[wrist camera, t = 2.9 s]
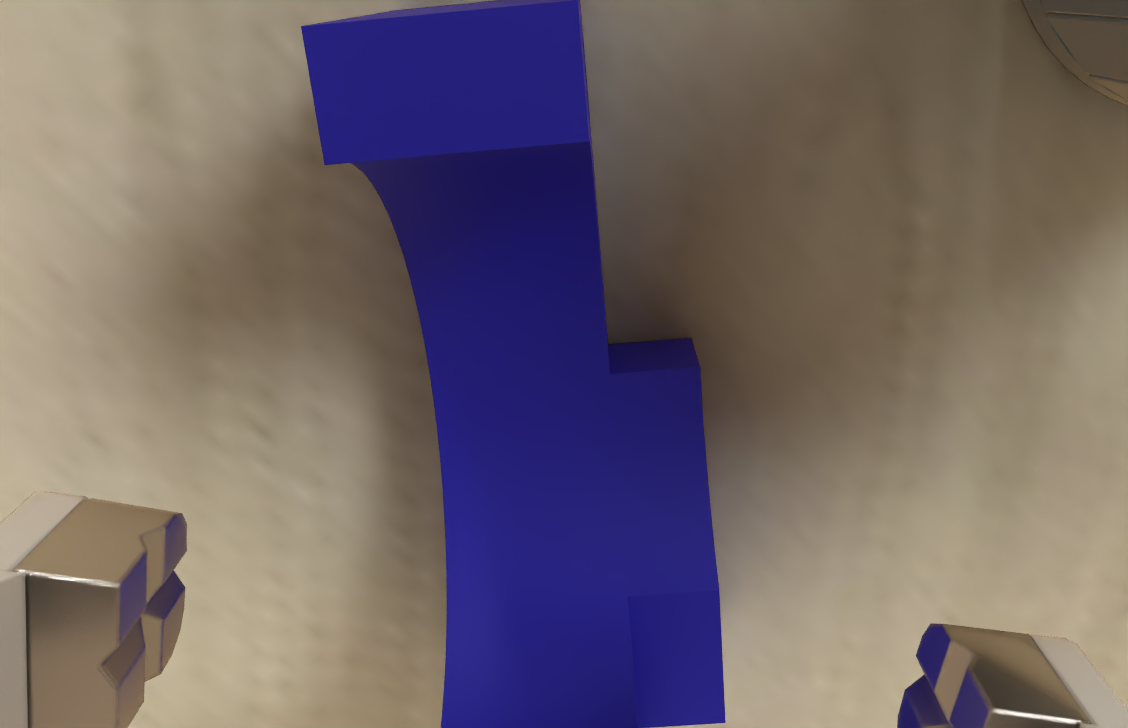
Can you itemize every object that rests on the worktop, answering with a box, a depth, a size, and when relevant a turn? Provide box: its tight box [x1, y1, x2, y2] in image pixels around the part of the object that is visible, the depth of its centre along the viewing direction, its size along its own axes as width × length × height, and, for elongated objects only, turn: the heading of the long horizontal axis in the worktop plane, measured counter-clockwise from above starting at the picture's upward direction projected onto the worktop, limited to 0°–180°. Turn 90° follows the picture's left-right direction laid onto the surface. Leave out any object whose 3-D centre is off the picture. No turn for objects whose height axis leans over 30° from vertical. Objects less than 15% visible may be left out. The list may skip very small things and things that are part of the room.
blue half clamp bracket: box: [301, 0, 725, 728], centre depth 16 cm, size 12×4×6 cm, turn 5°
